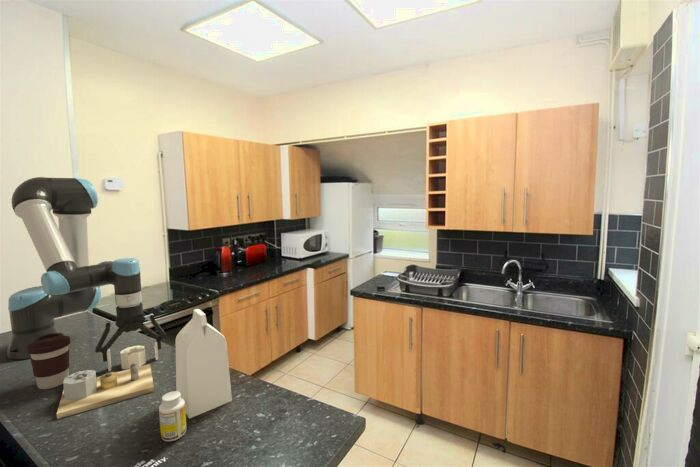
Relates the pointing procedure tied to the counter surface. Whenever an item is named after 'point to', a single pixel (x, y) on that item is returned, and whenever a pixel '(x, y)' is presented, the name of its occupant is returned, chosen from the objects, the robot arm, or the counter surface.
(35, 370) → the coffee cup
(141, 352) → the white octagonal block
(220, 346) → the milk
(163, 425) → the supplement bottle
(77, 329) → the counter surface
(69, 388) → the seated gear
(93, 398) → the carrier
